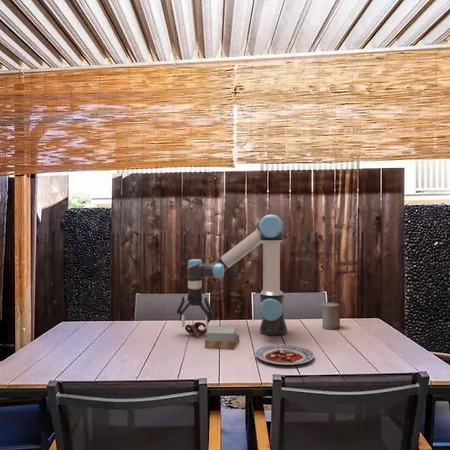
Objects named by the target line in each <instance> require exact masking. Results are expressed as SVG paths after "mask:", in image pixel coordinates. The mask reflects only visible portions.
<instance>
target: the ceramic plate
mask: <svg viewBox="0 0 450 450" xmlns="http://www.w3.org/2000/svg"><path fill="white" fill-rule="evenodd" d="M254 353H255V356H256V358H258V359H260V360H261V361H263V362H266V363H271V364H274V365H275V364H276V365H283V366H284V365H287V366H288V365H290V366H291V365H301V364H305V363H307V362H310V361H311V360H313V358H315V354H314V352H313V351H311V350H310V349H308V348H305V347H302V346H298V345H291V344H272V345H265V346H262V347H260V348H258V349H257V350H255V352H254Z"/></svg>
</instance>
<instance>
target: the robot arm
mask: <svg viewBox="0 0 450 450" xmlns="http://www.w3.org/2000/svg"><path fill="white" fill-rule="evenodd" d="M283 230H284V222H283V220H282V219H281V217H280V216H278V215H276V214H271V213H270V214H267V215H264V216H263V217H262V218H261V219H260V221H259V224H258V225H257V226H256V228H255V230H254V231H253V232H252V233H250V234H249V235H248V236H246V237H245V238H244V239H242V240H241V241H240V242H238V243H237V244H236V245H235V246H234V247H232V248H231V249H229V250H228V251H227V252H225V254H224V253H223V255H221V256H220V257H219V258H218V259H217V260H215V261H214V262H211V263H210V262H209V263H208V262H207V263H204V262H203V261H202V259H201V258H200V259H198V258H193V259H189V260H187V261H188V262H187V296H185V295H183V297H182V298H181V302H180V304H179V306H178V308H177V310H176V314H178V315H179V321H181V328H185V327H186V325H185V324H186V322H185V321H186V319H185V318H186V317H185V316H186V315H185V312H186V311H187V309H188V308H190V306H196V307H197V306H198V308H199V307H200V309H201V310H202V311H203V312H204V315H206V316H205V325H206V329H207V330H209V323H210V322H211V316H213V315H214V311H213V309H212V307H211V305H210V302H209V299H208V296H206V297H203V288H202V285H203V278H213V279H214V278H215V279H218V278H219V279H221V278H224V275H225V272H226V270H228V269H229V268H230V267H232V266H233V265H234V264H236V263H237V262H239V261H240V260H241V259H243V258H244V257H245V256H246V255H247V254H249V253H250V252H252V251H253V250H254V249H256V248H257V247H258V246H260V245H261V244H262V291H260V293H259V302H260V303H259V307H258V310H259V314H260V316H261V317H262V320H261V323H260V326H259V333H260V334H261V335H263V336H264V335H265V336H272V337H276V336H277V337H278V336H284V335H287V334H288V327H287V324H286V320H285V311H284V310H285V307H284V306H285V305H284V304H285V303H284V302H285V301H284V300H285V299H284V297H285V295H284V291H282V290H281V289H280V288H281V283H280V281H281V279H280V277H281V274H280V273H281V270H280V269H281V268H280V267H281V265H280V262H281V257H280V256H281V254H280V253H281V250H280V248H281V243H282V242H283V240H284V239H283V238H284V234H283V233H284V232H283ZM187 301H188V302H187ZM202 301H203V302H204V303H203V302H202ZM186 302H187V304H186V305H185V303H186ZM204 304H205V305H204ZM184 305H185V307H184ZM205 306H206V307H205ZM183 307H184V308H183Z"/></svg>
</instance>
